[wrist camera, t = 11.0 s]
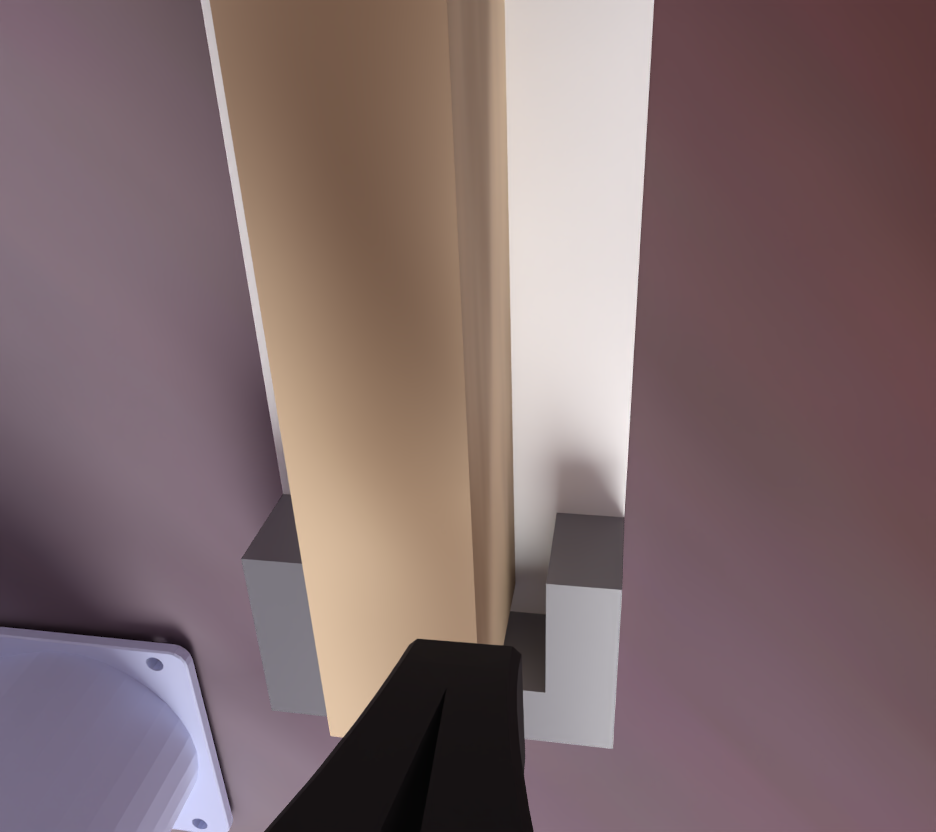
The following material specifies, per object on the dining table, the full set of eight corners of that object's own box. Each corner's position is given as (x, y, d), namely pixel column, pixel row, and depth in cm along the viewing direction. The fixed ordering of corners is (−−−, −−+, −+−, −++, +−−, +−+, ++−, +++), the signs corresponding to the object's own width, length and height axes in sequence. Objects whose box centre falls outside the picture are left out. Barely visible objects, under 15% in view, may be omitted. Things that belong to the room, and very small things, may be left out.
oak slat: (394, 574, 21) (330, 736, 17) (311, -233, 14) (158, -312, 9) (515, 583, 21) (482, 753, 16) (499, -249, 13) (430, -341, 9)
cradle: (319, 611, 24) (271, 710, 21) (160, -417, 14) (23, -518, 11) (616, 639, 22) (612, 748, 19) (680, -481, 12) (693, -619, 9)
